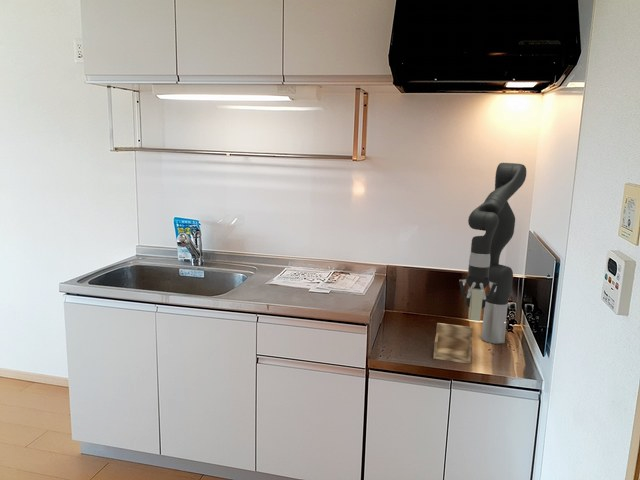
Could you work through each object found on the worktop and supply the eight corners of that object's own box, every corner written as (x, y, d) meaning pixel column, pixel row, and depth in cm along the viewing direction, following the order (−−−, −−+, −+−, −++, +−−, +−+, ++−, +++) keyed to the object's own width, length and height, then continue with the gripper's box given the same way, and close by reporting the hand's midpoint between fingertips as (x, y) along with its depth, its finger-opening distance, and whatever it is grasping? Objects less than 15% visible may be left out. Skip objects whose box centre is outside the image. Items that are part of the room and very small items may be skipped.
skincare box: (468, 314, 196) (471, 284, 194) (480, 316, 195) (483, 286, 193) (468, 320, 190) (471, 289, 188) (480, 321, 189) (483, 290, 187)
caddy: (470, 352, 202) (473, 327, 200) (470, 363, 192) (473, 336, 190) (435, 348, 206) (437, 322, 204) (433, 358, 196) (435, 331, 194)
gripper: (498, 263, 190) (494, 306, 194) (459, 260, 194) (455, 302, 197) (500, 268, 183) (495, 312, 187) (459, 264, 187) (455, 308, 190)
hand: (475, 307), depth 192 cm, fingers closed on skincare box, 4 cm apart
